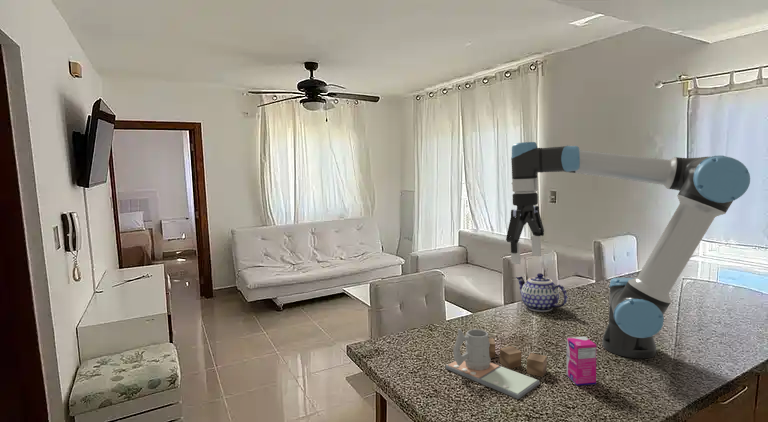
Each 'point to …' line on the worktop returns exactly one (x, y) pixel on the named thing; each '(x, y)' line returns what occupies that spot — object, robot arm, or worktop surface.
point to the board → (497, 378)
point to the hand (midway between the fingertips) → (526, 259)
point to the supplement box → (581, 360)
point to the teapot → (540, 293)
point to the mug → (473, 349)
